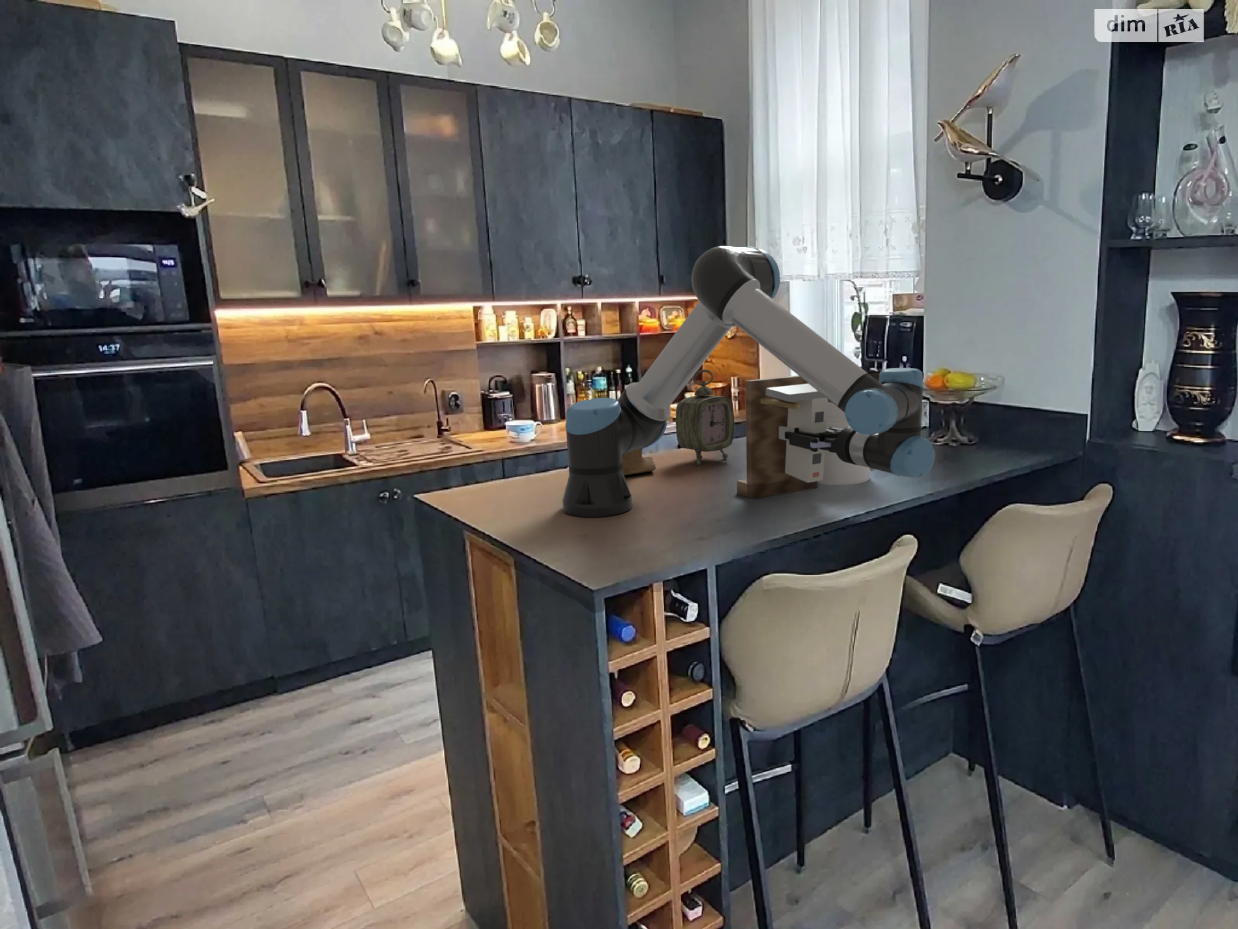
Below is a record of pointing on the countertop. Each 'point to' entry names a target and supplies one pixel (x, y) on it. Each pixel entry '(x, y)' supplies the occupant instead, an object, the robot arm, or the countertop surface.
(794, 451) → the power strip
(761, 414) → the bracket
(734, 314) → the robot arm
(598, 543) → the countertop surface
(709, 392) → the tabletop clock
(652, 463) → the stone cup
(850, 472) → the canister
